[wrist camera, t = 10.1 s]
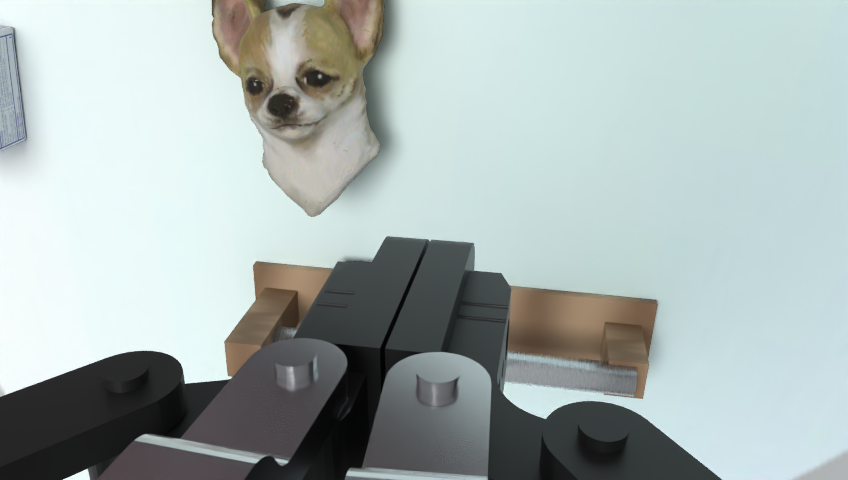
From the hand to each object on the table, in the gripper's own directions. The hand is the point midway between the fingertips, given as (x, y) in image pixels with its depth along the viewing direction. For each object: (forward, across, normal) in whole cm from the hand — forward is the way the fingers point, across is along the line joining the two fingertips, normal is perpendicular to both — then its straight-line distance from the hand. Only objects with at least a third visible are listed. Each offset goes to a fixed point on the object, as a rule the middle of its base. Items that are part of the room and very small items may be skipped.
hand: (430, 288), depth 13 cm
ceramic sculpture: (+35, +13, +4) cm, 37 cm away
